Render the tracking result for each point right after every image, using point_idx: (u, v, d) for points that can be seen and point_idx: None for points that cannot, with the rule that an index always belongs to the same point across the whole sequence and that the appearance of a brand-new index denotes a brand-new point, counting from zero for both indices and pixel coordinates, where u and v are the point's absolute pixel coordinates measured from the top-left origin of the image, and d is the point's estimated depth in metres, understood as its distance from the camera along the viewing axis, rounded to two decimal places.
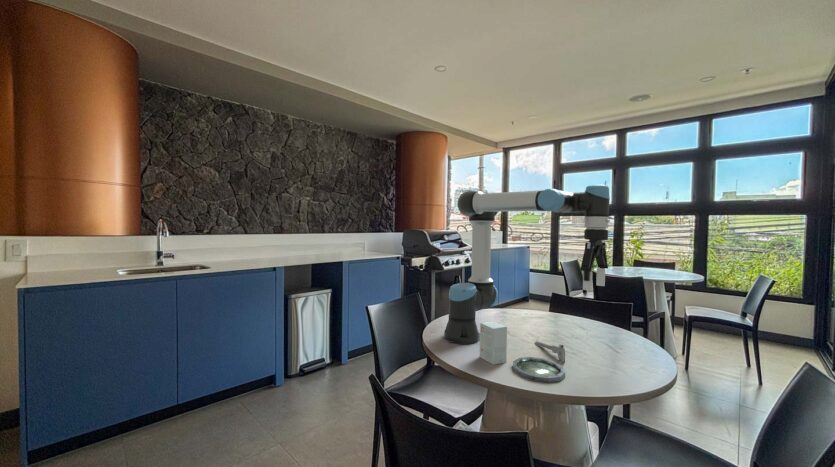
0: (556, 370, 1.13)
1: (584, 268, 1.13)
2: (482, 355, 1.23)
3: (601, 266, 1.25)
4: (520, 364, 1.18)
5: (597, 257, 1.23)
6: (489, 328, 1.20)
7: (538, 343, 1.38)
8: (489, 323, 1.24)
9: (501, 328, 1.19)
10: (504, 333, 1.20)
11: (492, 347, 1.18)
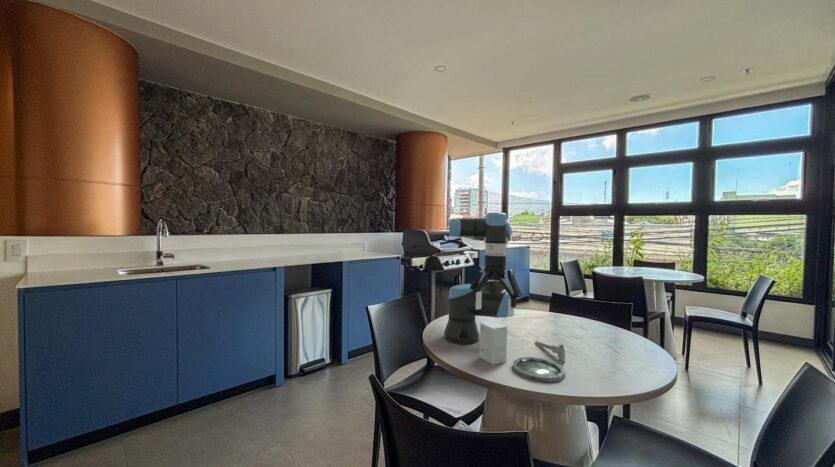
0: (556, 370, 1.13)
1: None
2: (482, 355, 1.23)
3: None
4: (520, 364, 1.18)
5: None
6: (489, 328, 1.20)
7: (538, 343, 1.38)
8: (489, 323, 1.24)
9: (501, 328, 1.19)
10: (504, 333, 1.20)
11: (492, 347, 1.18)
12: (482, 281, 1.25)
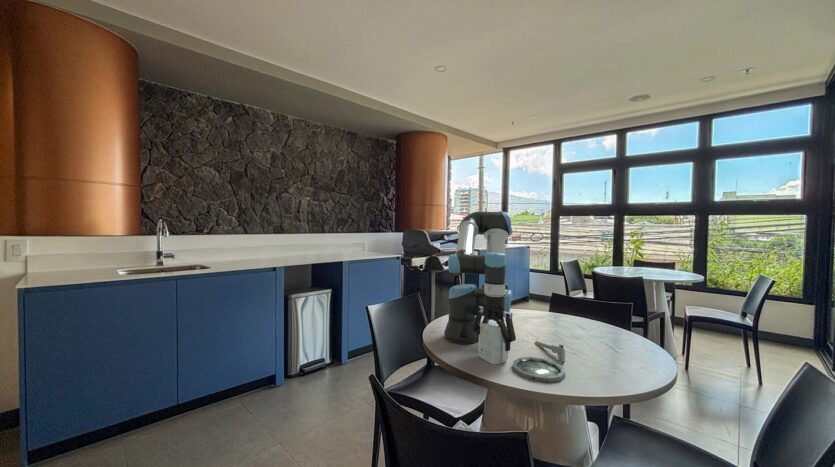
0: (556, 370, 1.13)
1: None
2: (482, 355, 1.23)
3: None
4: (520, 364, 1.18)
5: None
6: (489, 328, 1.20)
7: (538, 343, 1.38)
8: (489, 323, 1.24)
9: None
10: None
11: (492, 347, 1.18)
12: (483, 322, 1.24)
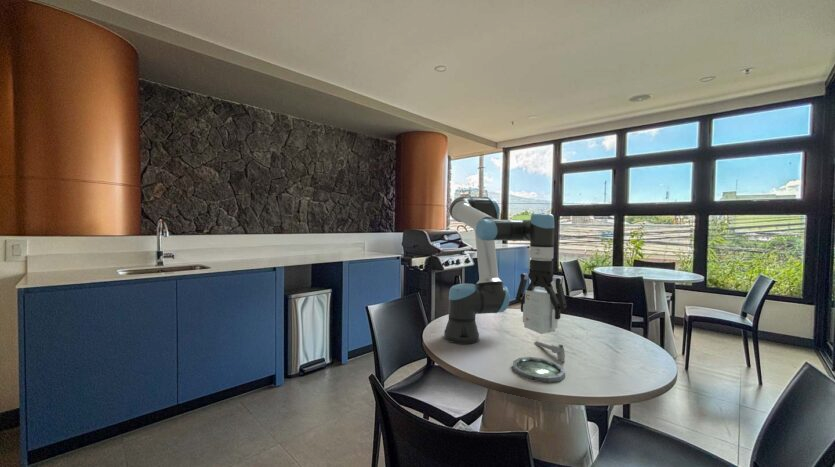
0: (556, 370, 1.13)
1: None
2: (527, 325, 1.14)
3: None
4: (520, 364, 1.18)
5: None
6: (537, 294, 1.10)
7: (538, 343, 1.38)
8: (535, 290, 1.14)
9: None
10: None
11: (541, 315, 1.09)
12: (528, 290, 1.15)
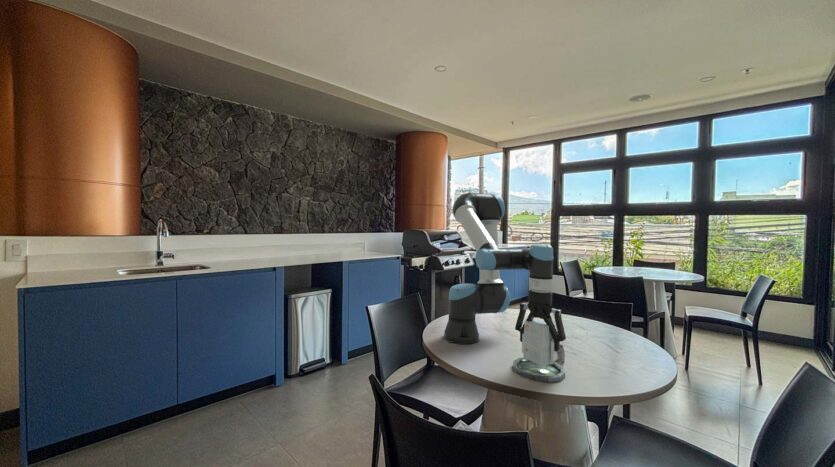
0: (556, 370, 1.13)
1: None
2: (527, 355, 1.14)
3: None
4: (520, 364, 1.18)
5: None
6: (536, 326, 1.11)
7: None
8: (534, 321, 1.15)
9: None
10: None
11: (540, 347, 1.09)
12: (527, 320, 1.15)
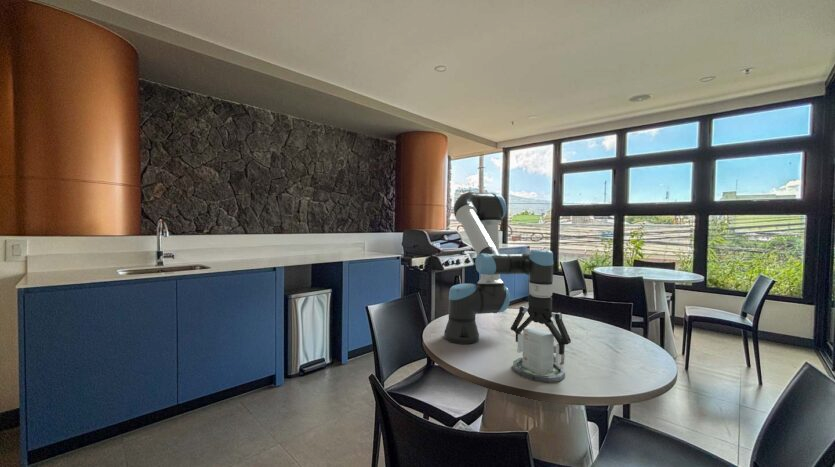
0: (556, 370, 1.13)
1: None
2: (526, 364, 1.14)
3: None
4: (520, 364, 1.18)
5: None
6: (535, 335, 1.11)
7: None
8: (533, 330, 1.15)
9: (548, 335, 1.10)
10: (551, 341, 1.11)
11: (539, 356, 1.09)
12: (525, 323, 1.16)
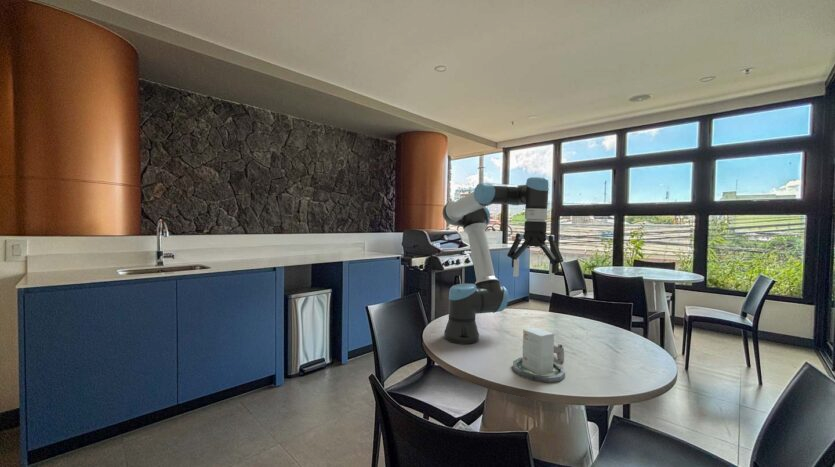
0: (556, 370, 1.13)
1: None
2: (526, 364, 1.14)
3: None
4: (520, 364, 1.18)
5: None
6: (535, 335, 1.11)
7: None
8: (533, 330, 1.15)
9: (548, 335, 1.10)
10: (551, 341, 1.11)
11: (539, 356, 1.09)
12: (521, 248, 1.23)
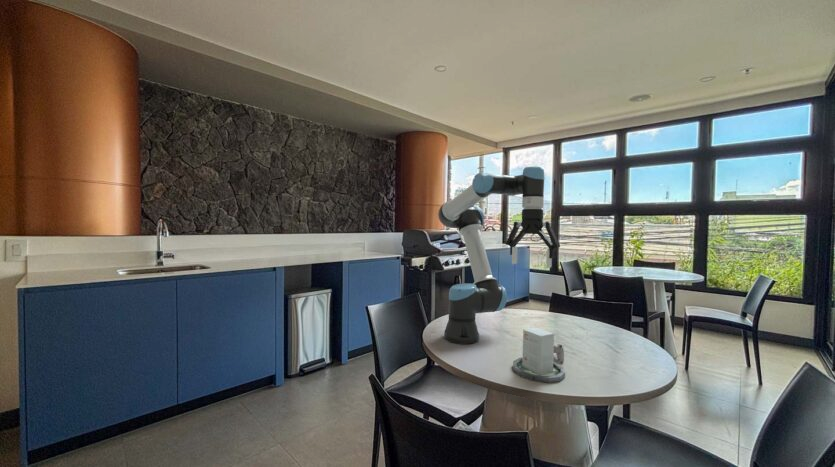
0: (556, 370, 1.13)
1: None
2: (526, 364, 1.14)
3: None
4: (520, 364, 1.18)
5: None
6: (535, 335, 1.11)
7: None
8: (533, 330, 1.15)
9: (548, 335, 1.10)
10: (551, 341, 1.11)
11: (539, 356, 1.09)
12: (519, 235, 1.27)
